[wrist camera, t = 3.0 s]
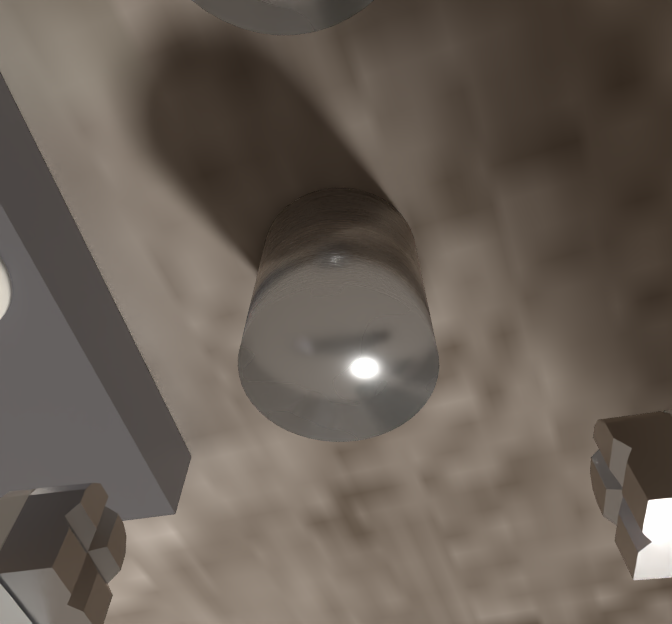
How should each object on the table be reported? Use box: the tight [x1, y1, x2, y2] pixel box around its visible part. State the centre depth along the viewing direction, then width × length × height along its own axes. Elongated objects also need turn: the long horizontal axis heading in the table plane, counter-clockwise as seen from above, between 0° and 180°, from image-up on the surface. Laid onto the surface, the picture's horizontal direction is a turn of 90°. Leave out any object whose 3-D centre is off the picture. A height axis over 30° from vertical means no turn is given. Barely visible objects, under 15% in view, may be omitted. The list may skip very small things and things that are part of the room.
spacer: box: [238, 188, 439, 442], centre depth 15 cm, size 4×4×5 cm
